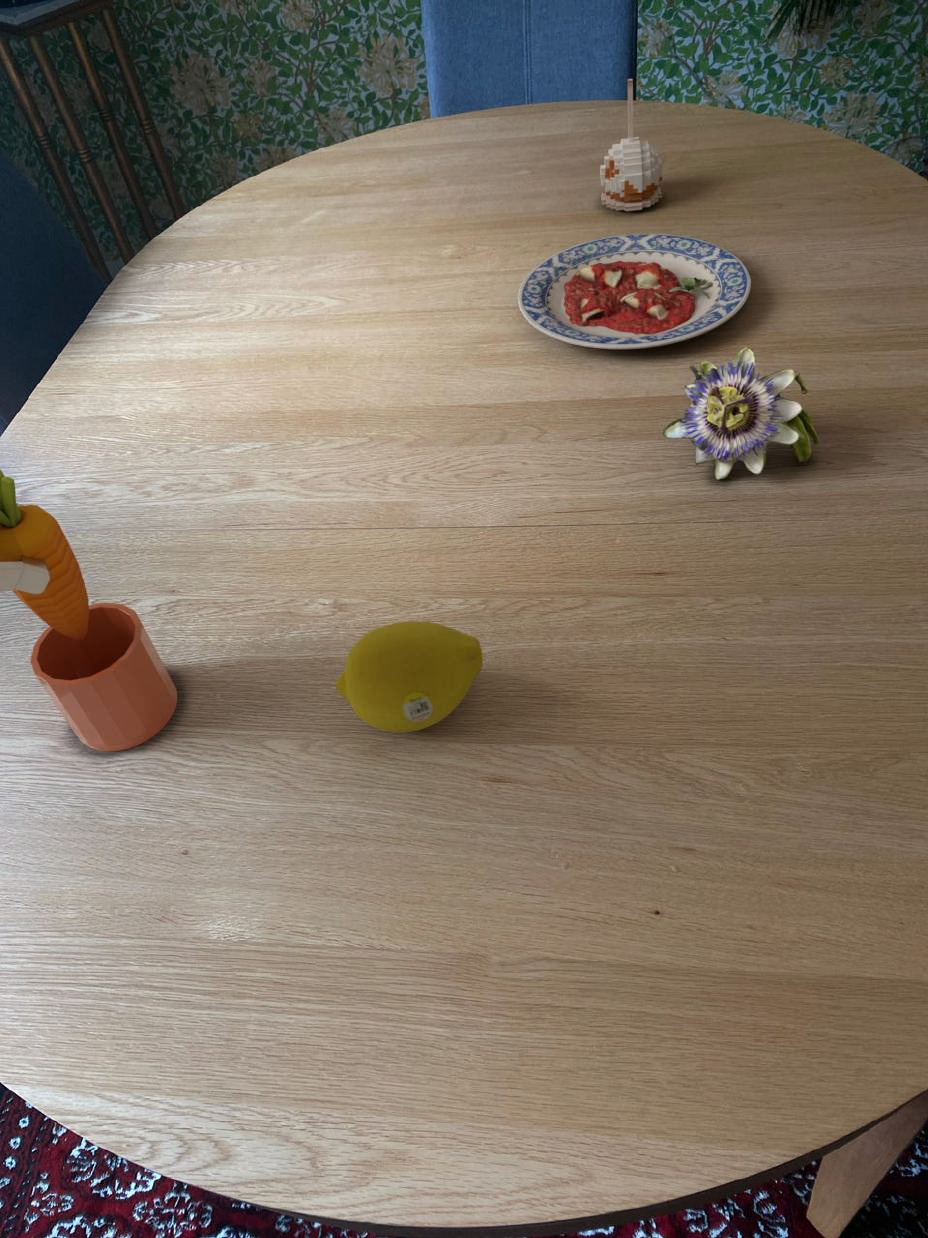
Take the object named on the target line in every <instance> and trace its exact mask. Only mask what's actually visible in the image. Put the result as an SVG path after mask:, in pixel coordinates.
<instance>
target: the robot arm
mask: <svg viewBox="0 0 928 1238" xmlns="http://www.w3.org/2000/svg"><path fill="white" fill-rule="evenodd" d="M16 503H17V506H25V505H24V504H21V503H18V502H16ZM49 580H50V575H49V570H48V566H47V563H46V562H45V561H43V560H40V559H39V560H36V559H34V558H32V557H28V556H24V555H22V556H21V558H20V560H19V562H0V593H5V592H6V593H7V592H11V591H12V590H14V589H15V590H19V591H24V592H28V593H32V594H40V593H42V592H44V590H45V588H46V586H47V584H48V582H49ZM12 592H13V591H12Z"/></svg>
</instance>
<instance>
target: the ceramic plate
mask: <svg viewBox="0 0 928 1238" xmlns="http://www.w3.org/2000/svg"><path fill="white" fill-rule="evenodd" d="M751 283H752V280H751V275H750V273H749V271H748V268H747V267H746V266H745V264H744V263H743V261H742V260H740V258H738V257H736V256H735V255H734V254H733V253H731V252H730V251H728V250H727V249H725V248H724V247H721V246H718V245H717V244H713V243H711V242H708V241H705V240H702V239H698V238H694V237H689V236H683V235H675V234H668V233H632V234H621V235H620V234H619V235H614V236H606V237H602V238H598V239H594V240H589V241H585V242H581V243H579V244H576V245H574V246H571V247H568V248H566V249H563V250H561V251H558V252H556V253H554V254H552V255H551V256H549V257H547V258H546V259H545V260H543V261H542V262H540V263H539V264H537V265H536V266H535V267H534V268H533V269H531V270H530V271H529V273H528V274H527V275H526V276H525V278H524V279H523V281H522V282H521V284H520V286H519V289H518V293H517V304H518V307H519V310H520V313H521V314H522V316H523V318H524V319H525V320H526V321H527V322H528V323H529V324H530V325H531V326H533V327H534V328H535V329H536V330H538V331H539V332H541V333H542V334H545V335H546V336H549V337H551V338H553V339H555V340H558V341H560V342H564V343H566V344H567V343H568V344H572V345H576V346H579V347H586V348H593V349H605V350H639V349H647V348H654V347H655V348H656V347H661V346H667V345H671V344H675V343H680V342H682V341H688V340H689V339H692V338H695V337H699V336H700V335H703V334H706V333H708V332H709V331H712V330H714V329H715V328H717V327H719V326H721V325H723V324H724V323H726V322H727V321H728V320H730V319H731V318H732V317H734V316H735V315H736V314H737V313H738V312H739V311H740V310H741V309H742V308H743V306H744V305H745V303H746V302H747V299H748V298H749V295H750V292H751Z"/></svg>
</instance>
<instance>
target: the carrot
mask: <svg viewBox="0 0 928 1238" xmlns="http://www.w3.org/2000/svg"><path fill="white" fill-rule="evenodd" d="M15 483H16V482H15V479H14V478H12V477H11V476H5V474H4V472H3V471H2V470H1V468H0V562H19V560H20V558H21V556H22V555H24V556H28V557H32V558H34V559H36V560H39V559H40V560H43V561H45V562H46V563H47V566H48V570H49V575H50V580H49V582H48V584H47V586H46V588H45V590H44V592H42V593H40V594H32V593H28V592H24V591H19V590H15V589H14V590H12V592H13V593H14V594H15V596H17V598H18V599H19V600H20V601H22V603H23V604H24V605H25V606H26V607H27V608H28V609H29V610H31V612H33V614H35V615H36V616H37V617H38V618H39V619H40V620H41V621H42V622H44V623H45V624H47V625H48V627H49V626H51V627H52V628H54V629H55V630H57V631H58V632H60V633H61V634H63V635H66V636H68V637H70V638H72V639H83V638H84V637H85V636H86V634H87V630H88V620H89V605H90V604H89V596H88V591H87V588H86V583H85V580H84V577H83V573H82V569H81V567H80V564H79V562H78V560H77V558H76V555H75V553H74V551H73V549H72V547H71V545H70V543H69V541H68V539H67V537H66V535H65V533H64V531H63V529H62V527H61V526H60V523H59V522H58V521H57V519H56V518H55V517H54V516H53V515H52V514H51V513H49V512H48V511H46V510H45V509H43V508H41V506H39V505H37V504H26V505H25V506H17V503H18V502H17V494H16V484H15Z"/></svg>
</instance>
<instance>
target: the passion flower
mask: <svg viewBox="0 0 928 1238" xmlns="http://www.w3.org/2000/svg"><path fill="white" fill-rule="evenodd" d="M755 368H756V357H755V352H754V350H753V349H752V348H750V347H749V345H747V346H745V347H744V348H741V350H740V351H739V352H737V354H736V355H735V357H734V358H733V360H732V361H730V362H727V363H725V364H724V365H722V364H720V366H719V367H717V365H715V364H713V363H712V362H710V361H708V360H704V361H701V362H700V369H699V370H698V369H697V367H695V365H694V364H690V365H689V370H690V371H691V372H692V373H693V375H694V377H695V380H694V381H693V382H692V383H690V384H685V385H684V387H683V391H684V394H685V395H686V396H687V398H688V399H689V401H690V402H691V403H690V405H689V406H688V408H687V409H685V410H683V411H682V412H681V413H682V414H681V417H680V418H677V419H675V420H673V421H672V422H670V423H669V424H667V425H666V426H665V427H664V428H663V431H662V435H663V436H664V437H665V438H667V439H672V440H673V439H674V440H678V439H684V438H686V439H688V440H690V442H691V444H692V445H693V446H695V449H694V459H693V460H694V464H695V465H697V466H698V465H703V464H705V463H708V462H710V463H712V464H713V465H714V476H715V480H718V481H719V480H723V479H726V478H727V477H728V476H729V474H730V473H731V471H732V469H733V467H734V466H735V464H736V463H737V462H742V463H743V464H744V465H745V468H746V470H748V471H749V472H751V473H752V474H754V475H759V474H761V473H762V471H763V469H764V468H765V465H766V462H767V459H766V458H767V451H768V449H769V446H770V445H772V444H779V445H787V446H788V445H789V447H790V448H791V450H792V451H793V453H794V455H795V457H796V459H797V460H798V462H799V463H801V462H803V463H805V462H807V461H808V460H809V459H810V457H811V454H812V448H811V447H812V446H811V440H810V437H811V438H812V442H813V444H814V445H816V446H817V445H819V443H820V440H819V435H818V433H817V431H816V429H815V426H814V424H813V421H812V417H811V416H810V415H809V414H808V412H806V411H805V410H804V409H803V408H802V405H801V404H800V403H799V402H797V401H796V400H793V399H789V398H785V397H783V396H782V395H781V393H782V392H783V391H784V390H785V389H787V388H788V387H789V386H790V384H792V383H793V382H794V381H796V382H797V384H798V385H799V386H800V390H801V394H802V395H806V394H808V393H809V391H810V390H809V387H808V385H807V384H806V382H805V380H804V379H803V377H802V376H801V373H800V372H799V370H797V369H796V370H794V369H784V370H778V371H775V372H773V373H771V374H768V375H764V376H762V377H761V378H760V372H758V373H757V374H756V371H755V370H756V369H755ZM809 436H810V437H809Z"/></svg>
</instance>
